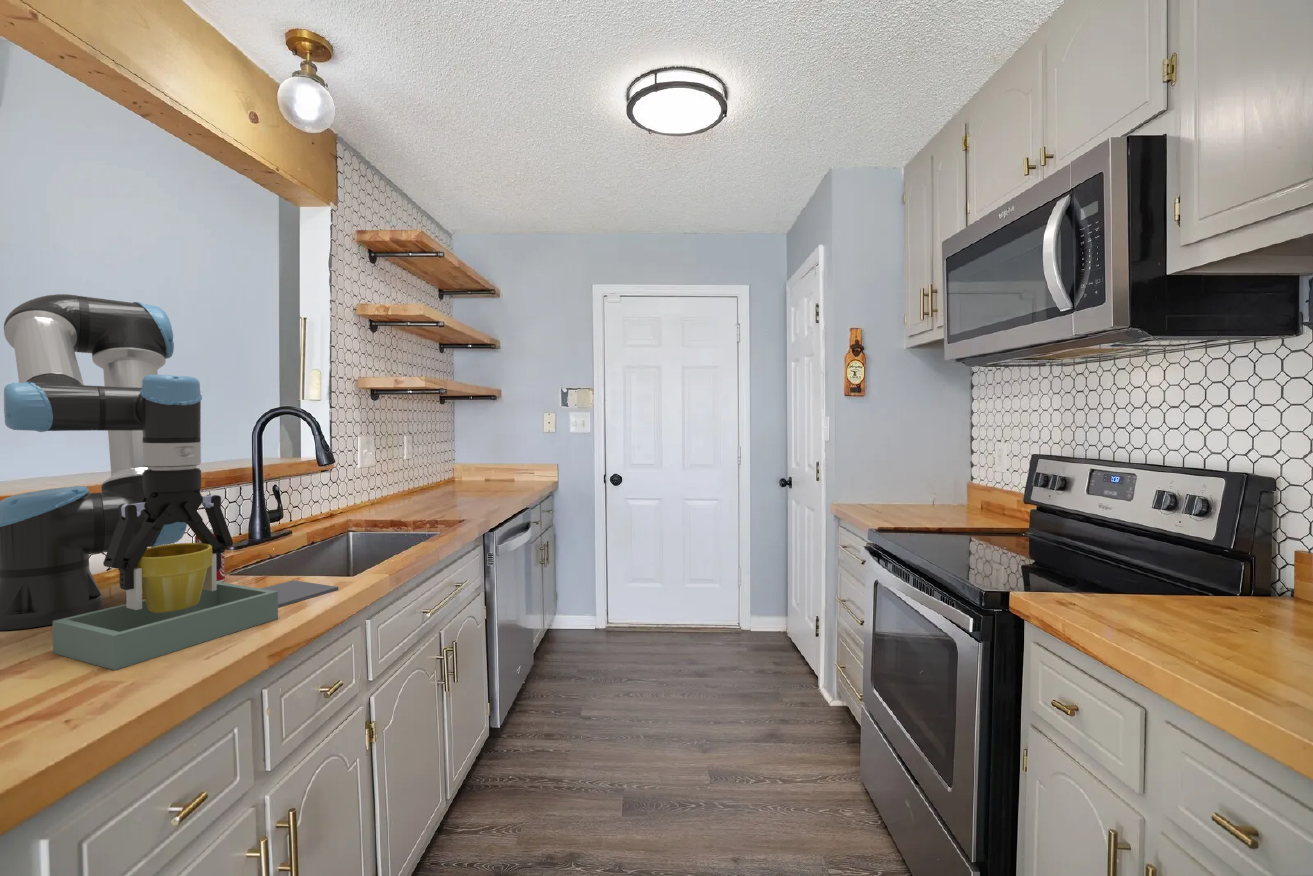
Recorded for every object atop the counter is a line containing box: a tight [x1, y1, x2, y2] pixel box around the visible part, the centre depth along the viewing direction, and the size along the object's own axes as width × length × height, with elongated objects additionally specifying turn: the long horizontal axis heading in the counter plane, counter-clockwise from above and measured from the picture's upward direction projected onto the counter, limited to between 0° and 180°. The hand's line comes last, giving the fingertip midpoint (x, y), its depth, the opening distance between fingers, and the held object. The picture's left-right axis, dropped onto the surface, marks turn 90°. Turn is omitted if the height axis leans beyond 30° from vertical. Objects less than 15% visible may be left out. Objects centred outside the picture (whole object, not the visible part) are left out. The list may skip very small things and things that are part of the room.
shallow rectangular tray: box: [52, 581, 279, 671], centre depth 97 cm, size 16×24×5 cm
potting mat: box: [260, 579, 339, 608], centre depth 120 cm, size 14×14×1 cm
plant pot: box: [136, 542, 212, 613], centre depth 97 cm, size 10×10×10 cm
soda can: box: [194, 527, 226, 583], centre depth 129 cm, size 5×5×12 cm
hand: (173, 598), depth 97 cm, fingers closed on plant pot, 10 cm apart
